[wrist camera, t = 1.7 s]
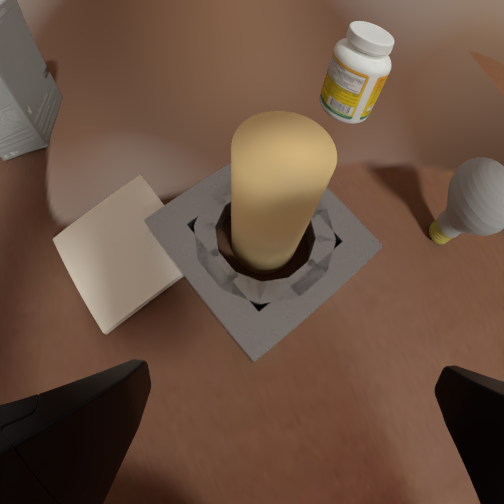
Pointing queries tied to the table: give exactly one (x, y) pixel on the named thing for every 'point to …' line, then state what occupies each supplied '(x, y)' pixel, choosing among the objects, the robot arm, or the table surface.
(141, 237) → the tile
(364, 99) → the supplement bottle
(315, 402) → the table surface
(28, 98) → the skincare box
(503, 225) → the light bulb
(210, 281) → the housing
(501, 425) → the robot arm
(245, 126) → the beige rounded peg
